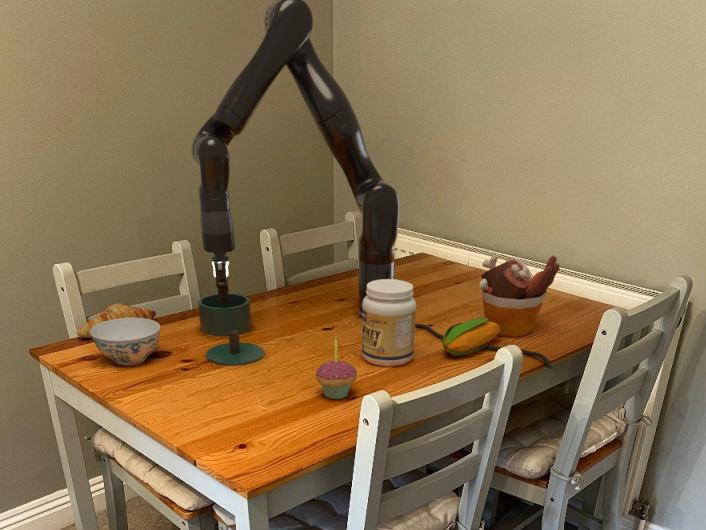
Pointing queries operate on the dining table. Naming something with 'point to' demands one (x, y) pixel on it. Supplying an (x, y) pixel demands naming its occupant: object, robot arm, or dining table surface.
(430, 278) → the dining table surface
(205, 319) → the pot
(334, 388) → the cupcake
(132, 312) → the croissant
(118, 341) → the chinaware
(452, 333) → the corn
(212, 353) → the lid
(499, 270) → the bucket of meat
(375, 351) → the supplement tub
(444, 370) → the dining table surface
